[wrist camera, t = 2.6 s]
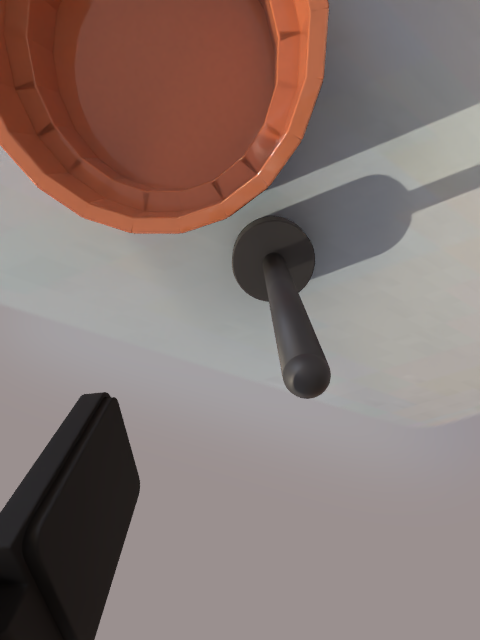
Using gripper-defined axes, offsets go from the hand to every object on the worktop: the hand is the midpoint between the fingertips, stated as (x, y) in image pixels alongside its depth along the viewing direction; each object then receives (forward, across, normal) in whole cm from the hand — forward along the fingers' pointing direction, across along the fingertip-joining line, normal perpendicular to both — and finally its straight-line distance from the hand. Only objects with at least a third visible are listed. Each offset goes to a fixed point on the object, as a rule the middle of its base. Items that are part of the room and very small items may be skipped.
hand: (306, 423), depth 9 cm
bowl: (+17, +5, -11) cm, 21 cm away
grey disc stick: (+17, 0, 0) cm, 17 cm away
